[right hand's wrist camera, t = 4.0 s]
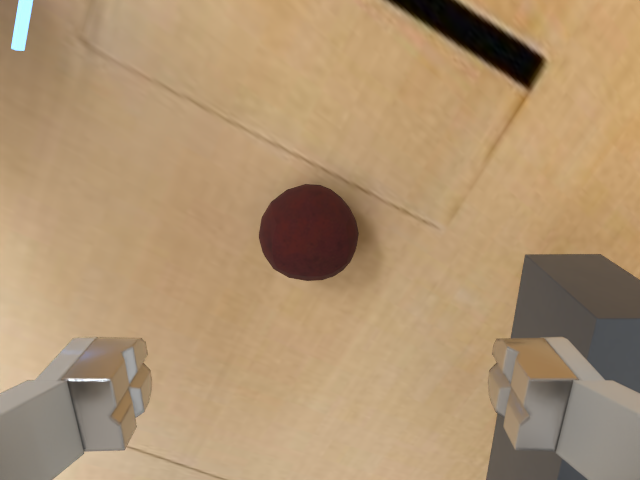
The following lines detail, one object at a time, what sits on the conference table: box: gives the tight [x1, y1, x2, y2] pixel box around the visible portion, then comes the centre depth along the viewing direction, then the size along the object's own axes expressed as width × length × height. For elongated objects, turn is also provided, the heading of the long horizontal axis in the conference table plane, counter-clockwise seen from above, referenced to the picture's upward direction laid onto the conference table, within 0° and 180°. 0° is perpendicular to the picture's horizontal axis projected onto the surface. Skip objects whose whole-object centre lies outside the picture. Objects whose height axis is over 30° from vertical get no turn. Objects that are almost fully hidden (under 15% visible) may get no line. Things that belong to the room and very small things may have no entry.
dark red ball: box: [259, 184, 359, 281], centre depth 35 cm, size 7×8×7 cm
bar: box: [486, 254, 640, 480], centre depth 30 cm, size 23×5×8 cm, turn 0°
